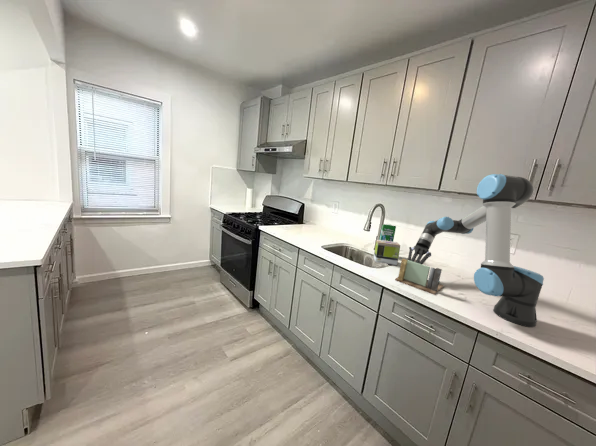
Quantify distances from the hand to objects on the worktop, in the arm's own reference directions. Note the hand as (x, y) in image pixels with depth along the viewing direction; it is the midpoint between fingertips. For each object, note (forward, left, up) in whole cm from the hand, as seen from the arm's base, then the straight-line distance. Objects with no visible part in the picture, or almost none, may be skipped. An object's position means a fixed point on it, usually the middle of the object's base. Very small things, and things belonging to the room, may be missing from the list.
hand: (409, 272), depth 144 cm
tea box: (+33, +6, -5) cm, 34 cm away
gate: (-5, -3, -4) cm, 6 cm away
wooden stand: (-1, -6, -5) cm, 8 cm away
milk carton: (+51, +3, -5) cm, 51 cm away
